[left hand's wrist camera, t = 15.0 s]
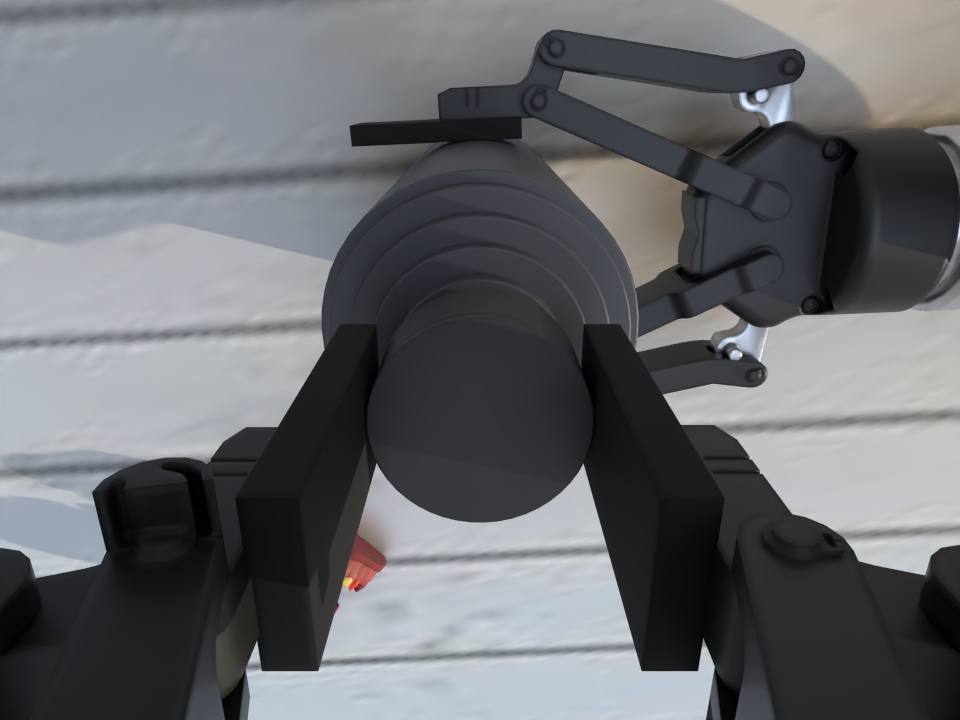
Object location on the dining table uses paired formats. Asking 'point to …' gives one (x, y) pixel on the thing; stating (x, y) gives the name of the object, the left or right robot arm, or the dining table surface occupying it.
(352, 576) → the dental model
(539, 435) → the cap
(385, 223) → the bottle
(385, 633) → the dining table surface
